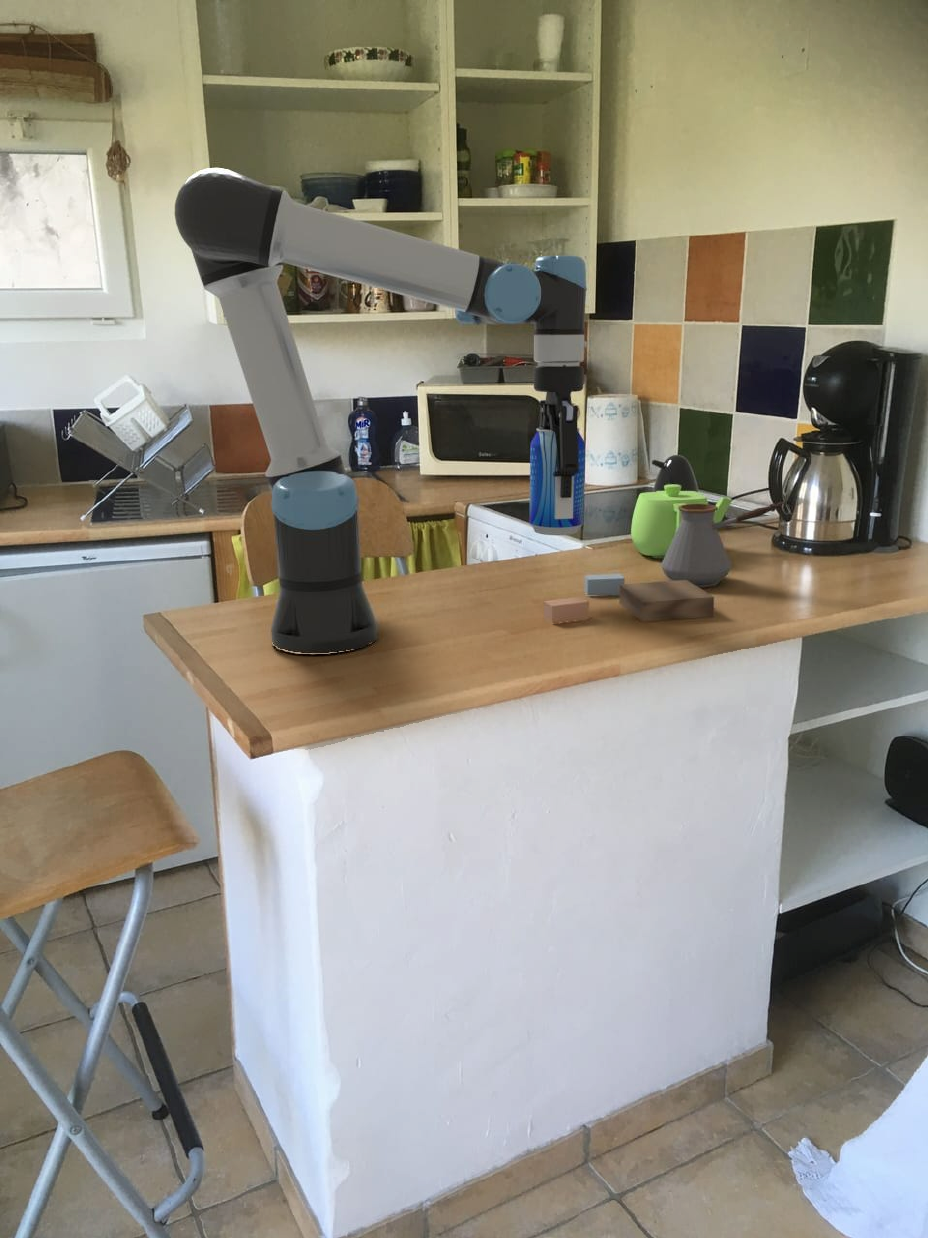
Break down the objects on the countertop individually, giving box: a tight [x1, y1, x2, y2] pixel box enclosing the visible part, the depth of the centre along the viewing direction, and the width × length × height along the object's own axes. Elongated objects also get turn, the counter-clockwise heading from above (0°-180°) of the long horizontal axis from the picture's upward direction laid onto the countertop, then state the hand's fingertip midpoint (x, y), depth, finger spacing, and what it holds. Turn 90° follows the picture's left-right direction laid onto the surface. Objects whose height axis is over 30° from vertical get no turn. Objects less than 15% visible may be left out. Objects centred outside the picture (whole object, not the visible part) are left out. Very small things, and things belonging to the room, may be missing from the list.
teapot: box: [630, 484, 733, 559], centre depth 192 cm, size 18×20×13 cm
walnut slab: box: [619, 580, 715, 623], centre depth 156 cm, size 11×11×3 cm
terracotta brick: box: [543, 596, 590, 624], centre depth 153 cm, size 6×3×3 cm, turn 109°
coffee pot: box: [660, 501, 791, 588], centre depth 167 cm, size 21×12×15 cm, turn 50°
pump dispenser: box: [651, 454, 699, 493], centre depth 217 cm, size 10×10×15 cm
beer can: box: [529, 427, 586, 536], centre depth 158 cm, size 8×8×16 cm
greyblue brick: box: [584, 573, 626, 596], centre depth 167 cm, size 6×3×3 cm, turn 93°
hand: (556, 513), depth 160 cm, fingers closed on beer can, 8 cm apart
